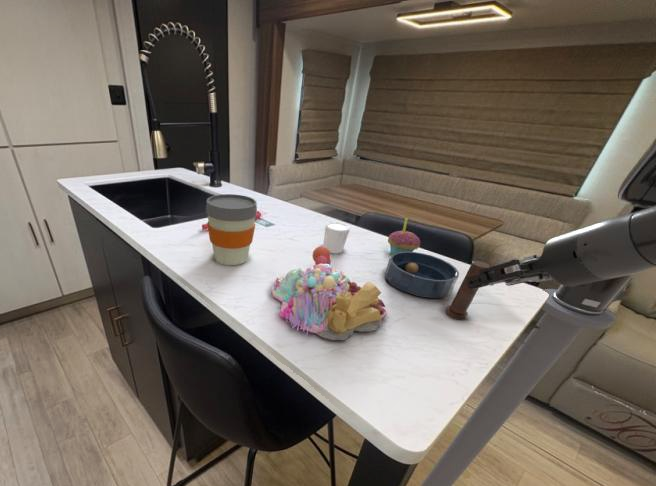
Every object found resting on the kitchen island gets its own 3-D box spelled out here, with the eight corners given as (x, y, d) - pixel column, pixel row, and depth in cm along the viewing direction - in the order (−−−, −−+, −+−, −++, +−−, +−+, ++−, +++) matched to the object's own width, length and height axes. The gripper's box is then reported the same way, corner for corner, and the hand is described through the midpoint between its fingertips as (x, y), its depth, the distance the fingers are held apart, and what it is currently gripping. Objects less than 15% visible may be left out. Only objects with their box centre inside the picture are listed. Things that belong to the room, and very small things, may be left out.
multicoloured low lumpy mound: (404, 311, 65) (419, 273, 60) (338, 361, 52) (351, 317, 47) (313, 266, 80) (319, 233, 75) (244, 296, 67) (246, 257, 62)
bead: (412, 270, 80) (416, 260, 79) (418, 276, 78) (422, 266, 76) (401, 270, 80) (405, 260, 79) (406, 276, 78) (410, 265, 76)
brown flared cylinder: (458, 308, 68) (483, 259, 61) (470, 320, 64) (498, 269, 58) (441, 308, 67) (465, 259, 61) (452, 319, 64) (478, 268, 57)
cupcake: (398, 263, 85) (413, 221, 78) (377, 251, 91) (389, 211, 85) (420, 259, 88) (437, 218, 81) (399, 247, 94) (412, 209, 88)
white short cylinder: (334, 243, 94) (339, 221, 91) (349, 252, 89) (355, 229, 86) (316, 246, 92) (320, 223, 88) (330, 255, 87) (335, 232, 83)
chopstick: (263, 221, 109) (255, 213, 111) (264, 216, 108) (256, 208, 110) (206, 235, 96) (198, 226, 97) (207, 229, 94) (199, 220, 96)
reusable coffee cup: (204, 267, 77) (202, 207, 68) (209, 246, 87) (208, 192, 79) (254, 269, 77) (258, 210, 69) (253, 248, 88) (257, 195, 79)
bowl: (428, 269, 83) (435, 252, 80) (464, 300, 71) (473, 281, 68) (375, 268, 82) (380, 250, 79) (401, 299, 69) (408, 280, 67)
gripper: (629, 223, 43) (512, 260, 58) (553, 226, 40) (450, 264, 55) (648, 274, 42) (523, 298, 57) (571, 282, 38) (460, 305, 54)
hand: (487, 282), depth 56 cm, fingers open, 8 cm apart
